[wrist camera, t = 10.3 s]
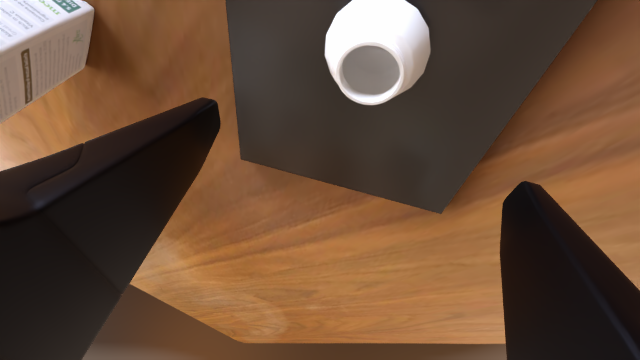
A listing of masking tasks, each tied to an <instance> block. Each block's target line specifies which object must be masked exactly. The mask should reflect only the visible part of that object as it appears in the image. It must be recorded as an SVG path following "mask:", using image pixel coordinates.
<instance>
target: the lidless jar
mask: <svg viewBox="0 0 640 360" xmlns="http://www.w3.org/2000/svg"><path fill="white" fill-rule="evenodd" d="M430 50H431V49H430V38H429V28H428V26H427V24H426V23H425V21H424V19H423V17H422V16H421V14H420V12H419V10H418V9H417V8H416V7H414V6H413V5H411V4H410V3H408V2H407V1H405V0H352V1H351V2H350V3H349V4H348V5H346V6H345V7H344V8H343V9H342V10H341V11H339V12H338V13H337V14H336V16H335V18H334V20H333V22H332V24H331V26H330V28H329V30H328V32H327V34H326V43H325V58H326V61H327V64H328V67H329V70H330V73H331V75H332V76H333V78H334V80H335V82H336V83H337V84H338V85H339V87H340V89H341V91H342V92H343V93H344V94H345V95H346V96H347V97H348V98H349V99H351V100H353V101H355V102H357V103H360V104H364V105H377V104H381V103H384V102H386V101H388V100H390V99H391V98H393V97H395V96H397V95H399V94H400V93H402V92H404V91H406V90H407V89H409V88H411V87H412V86H413V84H414V83H415V82H416V81H417V80H418V79H419V77H420V76H421V75H422V74H423V73H424V70H425V67H426V64H427V61H428V58H429V55H430Z"/></svg>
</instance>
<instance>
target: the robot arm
mask: <svg viewBox="0 0 640 360" xmlns="http://www.w3.org/2000/svg"><path fill="white" fill-rule="evenodd" d="M219 129H220V116H219V109H218V104H217V102H216V101H215V100H212V99H208V98H199V99H197V100H194V101H191V102H189V103H186V104H184V105H181V106H178V107H176V108H173V109H170V110H168V111H165V112H163V113H160V114H157V115H155V116H152V117H150V118H147V119H144V120H142V121H139V122H137V123H134V124H131V125H129V126H126V127H123V128H121V129H118V130H116V131H113V132H110V133H108V134H105V135H103V136H100V137H97V138H95V139H92V140H89V141H87V142H85V144H83V143H81V144H79V145H76V146H74V147H71V148H68V149H66V150H63V151H60V152H58V153H55V154H52V155H49V156H47V157H44V158H41V159H38V160H35V161H32V162H28V163H25V164H22V165H19V166H16V167H13V168H10V169H7V170H3V171H0V360H82V358H83V357H84V355H85V353H86V352H87V350H88V349H89V347H90V346H91V344H92V342H93V341H94V339H95V338H96V336H97V334H98V333H99V331H100V330H101V328H102V326H103V325H104V323H105V322H106V320H107V319H108V317H109V315H110V314H111V312H112V311H113V309H114V307H115V306H116V304H117V303H118V301H119V299H120V298H121V296H122V295H121V294H123V293H124V291H125V289H126V288H127V286H128V285H129V283H130V282H131V280H132V278H133V277H134V275H135V274H136V272H137V270H138V269H139V267H140V266H141V264H142V262H143V261H144V259H145V258H146V256H147V254H148V253H149V251H150V250H151V248H152V246H153V245H154V243H155V242H156V240H157V238H158V237H159V235H160V234H161V232H162V230H163V229H164V227H165V226H166V224H167V223H168V221H169V219H170V218H171V216H172V215H173V213H174V211H175V210H176V208H177V207H178V205H179V203H180V202H181V200H182V199H183V197H184V195H185V194H186V192H187V191H188V189H189V187H190V186H191V184H192V183H193V181H194V179H195V178H196V176H197V175H198V173H199V171H200V170H201V168H202V166H203V164H204V162H205V160H206V157H207V155H208V153H209V151H210V149H211V147H212V145H213V142H214V140H215V138H216V136H217V134H218V132H219ZM500 263H501V278H502V293H503V307H504V322H505V337H506V352H507V360H640V290H639V289H638V288H637V287H636V286H635V285H634V284H633V283H632V282H631V281H630V280H629V279H628V278H627V277H626V276H625V275H624V273H623V272H622V271H621V270H620V269H619V268H618V267H617V266H616V265H615V264H614V263H613V262H612V261H611V260H610V259H609V258H608V257H607V255H606V254H605V253H604V252H603V251H602V250H601V249H600V248H599V247H598V246H597V245H596V244H595V243H594V242H593V241H592V240H591V239H590V237H589V236H588V235H587V234H586V233H585V232H584V231H583V230H582V229H581V228H580V227H579V226H578V225H577V224H576V223H575V222H574V220H573V219H572V218H571V217H570V216H569V215H568V214H567V213H566V212H565V211H564V210H563V209H562V208H561V207H560V206H559V205H558V204H557V202H556V201H555V200H554V199H553V198H552V197H551V196H550V195H549V194H548V193H547V192H546V191H545V190H544V189H543V188H542V187H541V186H540V185H538V184H535V183H531V182H527V181H523V182H521V183H520V184H519V185H518V186H517V187H516V188H515V189H514V190H513V191H512V192H511V193H510V194H509V195H508V196H507V197H506V199H505V200H504V203H503V208H502V224H501V240H500Z"/></svg>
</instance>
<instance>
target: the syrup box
mask: <svg viewBox="0 0 640 360" xmlns="http://www.w3.org/2000/svg"><path fill="white" fill-rule="evenodd" d="M94 11H95V10H94V8H93V7H92V6H90V5H89V4H88V3H86V2H85V1H81V0H0V124H1V123H2V122H4V121H5V120H7V119H8V118H10V117H11V116H13V115H14V114H16V113H17V112H19V111H20V110H22V109H23V108H25V107H26V106H28V105H29V104H31V103H33V102H34V101H36V100H37V99H39V98H40V97H42V96H43V95H45V94H46V93H48V92H49V91H51V90H52V89H54V88H55V87H57V86H58V85H60V84H61V83H63V82H64V81H66V80H67V79H69V78H70V77H72V76H73V75H75V74H76V73H78V72H79V71H81V70H82V69H84V67H85V64H86V59H87V54H88V50H89V43H90V37H91V31H92V24H93V18H94Z"/></svg>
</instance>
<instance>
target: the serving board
mask: <svg viewBox="0 0 640 360" xmlns="http://www.w3.org/2000/svg"><path fill="white" fill-rule="evenodd" d="M351 1H352V0H226V10H227V21H228V31H229V41H230V52H231V62H232V72H233V83H234V93H235V103H236V114H237V124H238V134H239V145H240V155H241V159H242V160H246V161H249V162H253V163H257V164H260V165H264V166H267V167H271V168H275V169H278V170H282V171H286V172H289V173H293V174H297V175H300V176H304V177H308V178H311V179H315V180H319V181H322V182H326V183H330V184H333V185H337V186H341V187H344V188H348V189H352V190H355V191H359V192H363V193H366V194H370V195H374V196H377V197H381V198H385V199H388V200H392V201H396V202H399V203H403V204H407V205H410V206H414V207H418V208H421V209H425V210H429V211H432V212H436V213H440V214H441V213H442V212H443V211H444V209H445V208H446V207H447V205H448V204H449V202H450V201H451V200H452V198H453V197H454V196H455V194H456V193H457V192H458V190H459V189H460V187H461V186H462V185H463V183H464V182H465V181H466V179H467V178H468V176H469V175H470V174H471V172H472V171H473V170H474V168H475V167H476V166H477V164H478V163H479V161H480V160H481V159H482V157H483V156H484V155H485V153H486V152H487V151H488V149H489V148H490V146H491V145H492V144H493V142H494V141H495V140H496V138H497V137H498V136H499V134H500V133H501V131H502V130H503V129H504V127H505V126H506V125H507V123H508V122H509V120H510V119H511V118H512V116H513V115H514V114H515V112H516V111H517V110H518V108H519V107H520V105H521V104H522V103H523V101H524V100H525V99H526V97H527V96H528V95H529V93H530V92H531V90H532V89H533V88H534V86H535V85H536V84H537V82H538V81H539V80H540V78H541V77H542V75H543V74H544V73H545V71H546V70H547V69H548V67H549V66H550V64H551V63H552V62H553V60H554V59H555V58H556V56H557V55H558V54H559V52H560V51H561V49H562V48H563V47H564V45H565V44H566V43H567V41H568V40H569V39H570V37H571V36H572V34H573V33H574V32H575V30H576V29H577V28H578V26H579V25H580V24H581V22H582V21H583V19H584V18H585V17H586V15H587V14H588V13H589V11H590V10H591V8H592V7H593V6H594V4H595V3H596V2H597V0H405V1H407V2H408V3H410V4H411V5H413V6H414V7H416V8H417V9H418V10H419V12H420V14H421V16H422V17H423V19H424V21H425V23H426V24H427V26H428V28H429V38H430V49H431V50H430V55H429V58H428V61H427V64H426V67H425V70H424V73H423V74H422V75H421V76H420V77H419V79H418V80H417V81H416V82H415V83H414V84H413V86H412V87H411V88H409V89H407V90H406V91H404V92H402V93H400V94H399V95H397V96H395V97H393V98H391V99H390V100H388V101H386V102H384V103H381V104H377V105H364V104H360V103H357V102H355V101H353V100H351V99H349V98H348V97H347V96H346V95H345V94H344V93H343V92H342V91H341V89H340V87H339V85H338V84H337V83H336V82H335V80H334V78H333V76H332V75H331V73H330V70H329V67H328V64H327V61H326V58H325V43H326V34H327V32H328V30H329V28H330V26H331V24H332V22H333V20H334V18H335V16H336V14H337V13H338V12H339V11H341V10H342V9H343V8H344V7H345V6H346V5H348V4H349V3H350V2H351Z"/></svg>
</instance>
